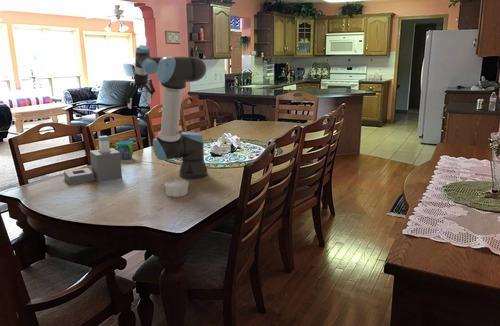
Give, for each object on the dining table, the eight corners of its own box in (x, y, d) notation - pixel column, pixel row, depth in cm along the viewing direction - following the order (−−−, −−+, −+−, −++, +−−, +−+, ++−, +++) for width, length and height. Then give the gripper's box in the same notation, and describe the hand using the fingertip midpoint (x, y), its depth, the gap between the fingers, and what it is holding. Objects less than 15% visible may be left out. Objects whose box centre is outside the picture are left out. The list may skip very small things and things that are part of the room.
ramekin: (178, 188, 198) (177, 178, 197) (194, 193, 192) (193, 182, 190) (160, 194, 190) (159, 183, 189) (175, 199, 183) (175, 188, 182)
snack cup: (112, 156, 257) (111, 141, 254) (128, 154, 263) (127, 139, 261) (122, 161, 245) (121, 145, 242) (138, 159, 252) (137, 143, 249)
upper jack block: (122, 177, 214) (119, 152, 210) (98, 181, 207) (96, 155, 203) (114, 172, 223) (112, 147, 220) (92, 176, 217) (89, 150, 213)
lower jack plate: (94, 180, 210) (93, 172, 209) (70, 184, 203) (69, 176, 202) (88, 174, 219) (87, 167, 218) (64, 178, 212) (63, 171, 211)
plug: (110, 157, 212) (108, 136, 209) (102, 158, 210) (100, 137, 207) (107, 155, 215) (106, 135, 212) (100, 156, 213) (98, 136, 210)
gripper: (155, 67, 242) (152, 98, 254) (118, 73, 225) (117, 106, 237) (163, 72, 238) (160, 103, 250) (126, 78, 221) (124, 112, 233)
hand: (139, 105), depth 243 cm, fingers open, 13 cm apart
